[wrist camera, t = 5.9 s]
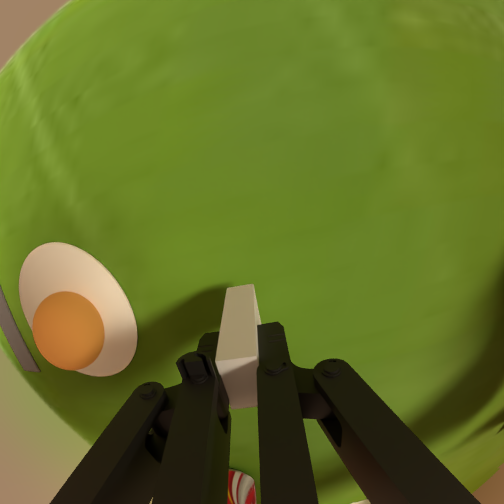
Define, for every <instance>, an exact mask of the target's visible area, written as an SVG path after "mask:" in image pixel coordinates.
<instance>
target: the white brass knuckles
mask: <svg viewBox="0 0 504 504" xmlns="http://www.w3.org/2000/svg"><path fill="white" fill-rule="evenodd" d="M351 504H371V503H370V502H369V500H368V499H366V500H363V501H360V502H356V503H351Z"/></svg>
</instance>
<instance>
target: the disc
mask: <svg viewBox="0 0 504 504" xmlns="http://www.w3.org/2000/svg"><path fill="white" fill-rule="evenodd" d="M63 291H68V292H74V293H77V294H80V295H81V296H83V297H85V298H86V299H88V300H89V301H90V302H91V303H92V304H93V305H94V306H95V308H96V309H97V310H98V312H99V314H100V316H101V318H102V321H103V325H104V331H105V339H104V344H103V348H102V350H101V352H100V354H99V356H98V357H97V359H96V360H95V361H94V362H93V363H92V364H90V365H89V366H87V367H85V368H83V369H79V370H75V371H78V372H80V373H83V374H86V375H91V376H99V377H100V376H110V375H114V374H116V373H119V372H120V371H122V370H123V369H124V368H126V367H127V366H128V364H129V363H130V362H131V360H132V358H133V356H134V354H135V351H136V347H137V339H138V334H137V325H136V320H135V316H134V313H133V310H132V307H131V305H130V303H129V300H128V298H127V297H126V295H125V293H124V291H123V289H122V288H121V286H120V285H119V283H118V282H117V280H116V279H115V278H114V277H113V275H112V274H111V273H110V272H109V271H108V270H107V269H106V268H105V267H104V266H103V264H102V263H100V262H99V261H98V260H97V259H96V258H94V257H93V256H92V255H90V254H89V253H87V252H86V251H84V250H82V249H80V248H78V247H76V246H73V245H70V244H67V243H62V242H51V243H46V244H43V245H41V246H39V247H37V248H36V249H34V250H33V251H32V252H31V253H30V254H29V255H28V256H27V258H26V259H25V261H24V263H23V266H22V269H21V272H20V278H19V294H20V300H21V305H22V308H23V312H24V314H25V317H26V319H27V322H28V324H29V326H30V328H31V329H32V331H33V328H32V325H33V318H34V314H35V312H36V310H37V308H38V306H39V305H40V303H41V302H42V301H43V300H44V299H45V298H46V297H48V296H49V295H51V294H54V293H56V292H63Z"/></svg>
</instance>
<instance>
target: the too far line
mask: <svg viewBox="0 0 504 504" xmlns="http://www.w3.org/2000/svg"><path fill="white" fill-rule="evenodd" d="M0 325H1V328H2V330H3V332H4V334H5V336H6V338H7V340H8V342H9V344H10V346H11V348H12V350H13V352H14V353H15V355H16V357H17V359H18V361H19V362H20V364H21V366H22V368H23V369H24V370H25V371H32V372H40V369H39V368H38V366H37V364H36V362H35V361H34V359H33V357H32V355H31V353H30V351H29V350H28V348H27V346H26V344H25V342H24V340H23V338H22V336H21V334H20V332H19V330H18V327H17V325H16V323H15V321H14V319H13V316H12V314H11V312H10V309H9V307H8V305H7V302H6V300H5V297H4V294H3V292H2V289H1V286H0Z"/></svg>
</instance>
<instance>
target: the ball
mask: <svg viewBox="0 0 504 504" xmlns="http://www.w3.org/2000/svg"><path fill="white" fill-rule="evenodd" d="M32 328H33V337H34V340H35V343H36V346H37V348H38V350H39V351H40V353H41V354H42V355H43V357H44V358H45V359H46V360H47V361H48V362H50V363H51V364H53V365H54V366H56V367H58V368H61V369H64V370H79V369H83V368H85V367H87V366H89V365H90V364H92V363H93V362H94V361H95V360H96V359H97V357H98V356H99V354H100V352H101V350H102V348H103V344H104V339H105V331H104V325H103V321H102V318H101V316H100V314H99V312H98V310H97V309H96V308H95V306H94V305H93V304H92V303H91V302H90V301H89V300H88V299H86V298H85V297H83V296H81V295H80V294H77V293H74V292H68V291H63V292H56V293H54V294H51V295H49V296H48V297H46V298H45V299H44V300H43V301H42V302H41V303H40V305H39V306H38V308H37V310H36V312H35V314H34V318H33V325H32Z"/></svg>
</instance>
